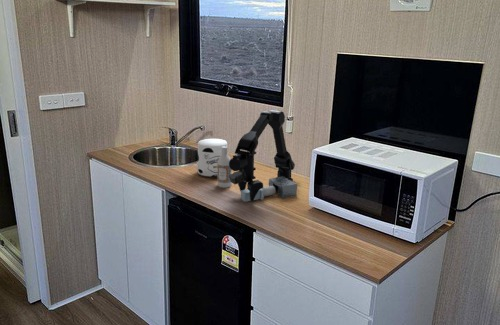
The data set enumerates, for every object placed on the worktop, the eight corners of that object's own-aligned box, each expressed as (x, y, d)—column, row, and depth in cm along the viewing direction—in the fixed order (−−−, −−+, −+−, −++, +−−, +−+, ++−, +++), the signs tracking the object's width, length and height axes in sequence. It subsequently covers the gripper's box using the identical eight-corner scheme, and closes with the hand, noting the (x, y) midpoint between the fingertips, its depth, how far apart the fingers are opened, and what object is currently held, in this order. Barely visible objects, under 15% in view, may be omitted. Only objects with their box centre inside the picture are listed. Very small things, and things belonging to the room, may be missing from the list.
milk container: (217, 182, 223) (217, 148, 217) (190, 176, 231) (189, 143, 226) (235, 172, 237) (235, 140, 232) (208, 167, 245) (208, 136, 240)
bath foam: (215, 187, 216) (215, 148, 210) (220, 182, 222) (220, 144, 216) (228, 188, 214) (228, 149, 208) (233, 184, 220) (233, 145, 214)
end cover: (269, 192, 210) (269, 183, 208) (276, 196, 204) (276, 187, 203) (239, 198, 202) (239, 188, 200) (246, 203, 197) (246, 193, 195)
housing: (282, 187, 216) (282, 176, 215) (296, 195, 206) (297, 183, 205) (268, 190, 213) (269, 178, 211) (282, 198, 203) (282, 186, 201)
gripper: (222, 162, 199) (222, 194, 204) (241, 174, 184) (241, 208, 188) (243, 158, 204) (243, 190, 209) (264, 170, 189) (263, 203, 194)
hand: (247, 197), depth 200 cm, fingers open, 8 cm apart
